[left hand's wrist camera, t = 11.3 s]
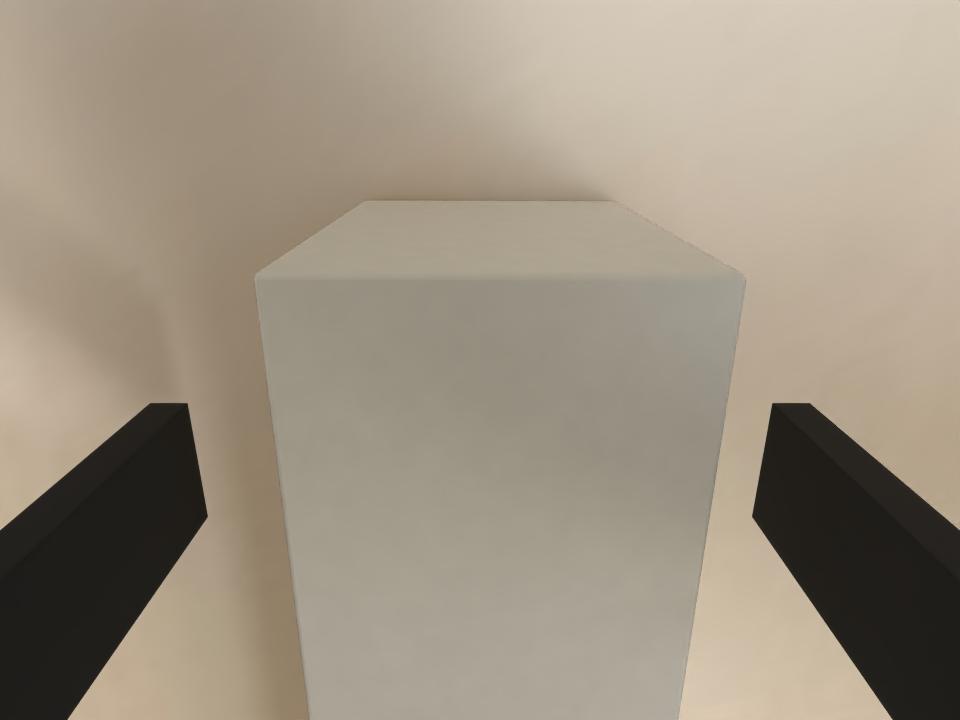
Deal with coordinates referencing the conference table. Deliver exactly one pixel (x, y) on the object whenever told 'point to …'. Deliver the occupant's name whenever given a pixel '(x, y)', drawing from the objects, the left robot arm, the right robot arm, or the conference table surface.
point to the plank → (496, 456)
